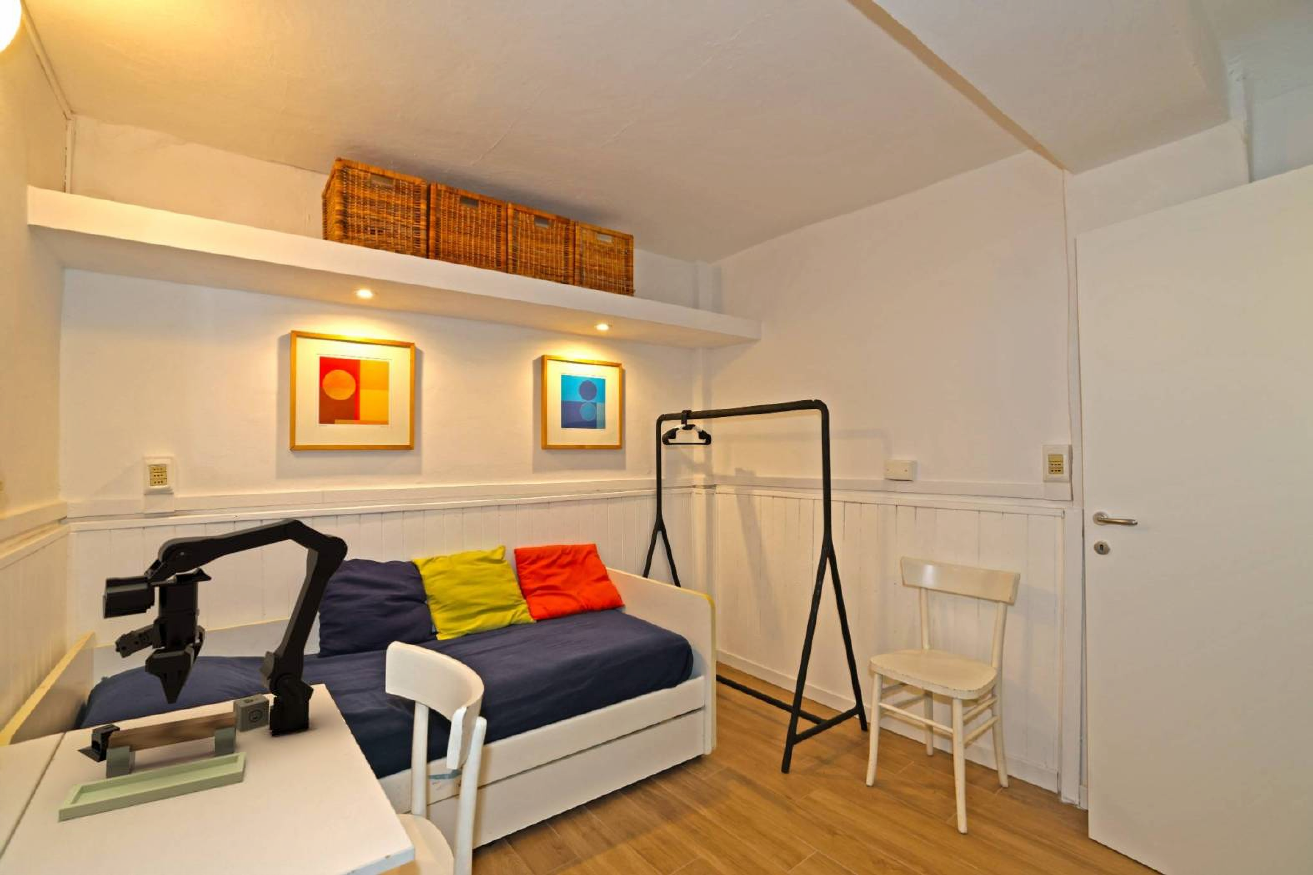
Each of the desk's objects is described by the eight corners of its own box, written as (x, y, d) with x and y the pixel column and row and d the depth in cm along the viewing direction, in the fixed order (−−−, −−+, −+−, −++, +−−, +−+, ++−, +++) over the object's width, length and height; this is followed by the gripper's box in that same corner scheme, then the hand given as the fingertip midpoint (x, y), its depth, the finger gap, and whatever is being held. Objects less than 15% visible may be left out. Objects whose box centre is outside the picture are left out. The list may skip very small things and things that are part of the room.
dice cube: (232, 725, 125) (233, 700, 126) (260, 717, 129) (260, 693, 129) (240, 732, 122) (241, 707, 122) (268, 724, 126) (269, 699, 126)
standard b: (135, 762, 110) (136, 733, 110) (128, 775, 106) (129, 745, 106) (113, 766, 108) (114, 737, 109) (105, 779, 104) (106, 749, 104)
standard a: (236, 742, 118) (236, 716, 118) (233, 754, 113) (234, 726, 113) (217, 746, 116) (217, 719, 116) (213, 758, 112) (214, 730, 112)
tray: (245, 760, 111) (245, 751, 111) (242, 781, 104) (242, 771, 104) (74, 795, 99) (75, 784, 99) (58, 821, 92) (58, 809, 92)
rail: (236, 726, 117) (236, 710, 117) (234, 732, 114) (235, 716, 114) (112, 748, 108) (113, 731, 108) (108, 756, 105) (108, 738, 105)
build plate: (144, 753, 115) (145, 728, 115) (94, 770, 108) (95, 744, 108) (114, 737, 120) (115, 714, 121) (65, 753, 114) (66, 728, 114)
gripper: (133, 602, 116) (131, 685, 115) (105, 627, 100) (103, 724, 99) (206, 595, 121) (204, 674, 121) (191, 618, 105) (189, 709, 105)
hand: (176, 694), depth 111 cm, fingers open, 9 cm apart
